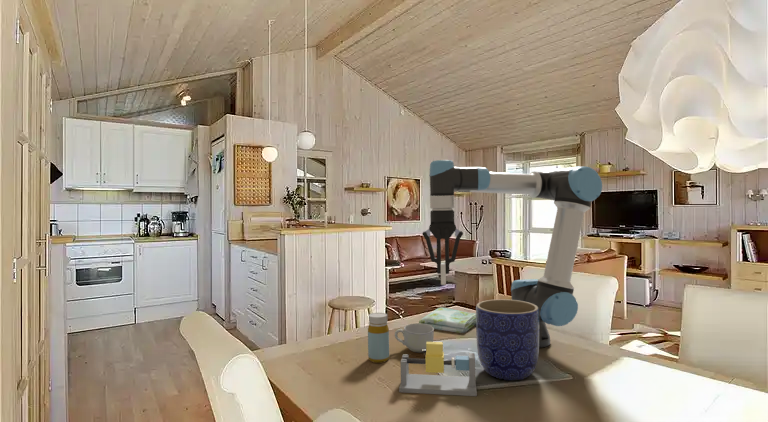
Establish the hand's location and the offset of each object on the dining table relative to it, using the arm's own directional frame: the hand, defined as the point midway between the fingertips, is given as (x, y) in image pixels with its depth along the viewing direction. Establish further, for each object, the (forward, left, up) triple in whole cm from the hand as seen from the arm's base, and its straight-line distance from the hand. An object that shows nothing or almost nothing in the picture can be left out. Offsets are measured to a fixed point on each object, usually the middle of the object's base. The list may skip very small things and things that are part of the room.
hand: (443, 284), depth 138 cm
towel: (-1, -48, -27) cm, 55 cm away
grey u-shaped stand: (+2, +15, -26) cm, 30 cm away
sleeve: (+2, +15, -22) cm, 26 cm away
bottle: (+22, -4, -27) cm, 35 cm away
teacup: (+11, -15, -27) cm, 33 cm away
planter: (-19, +3, -27) cm, 33 cm away
